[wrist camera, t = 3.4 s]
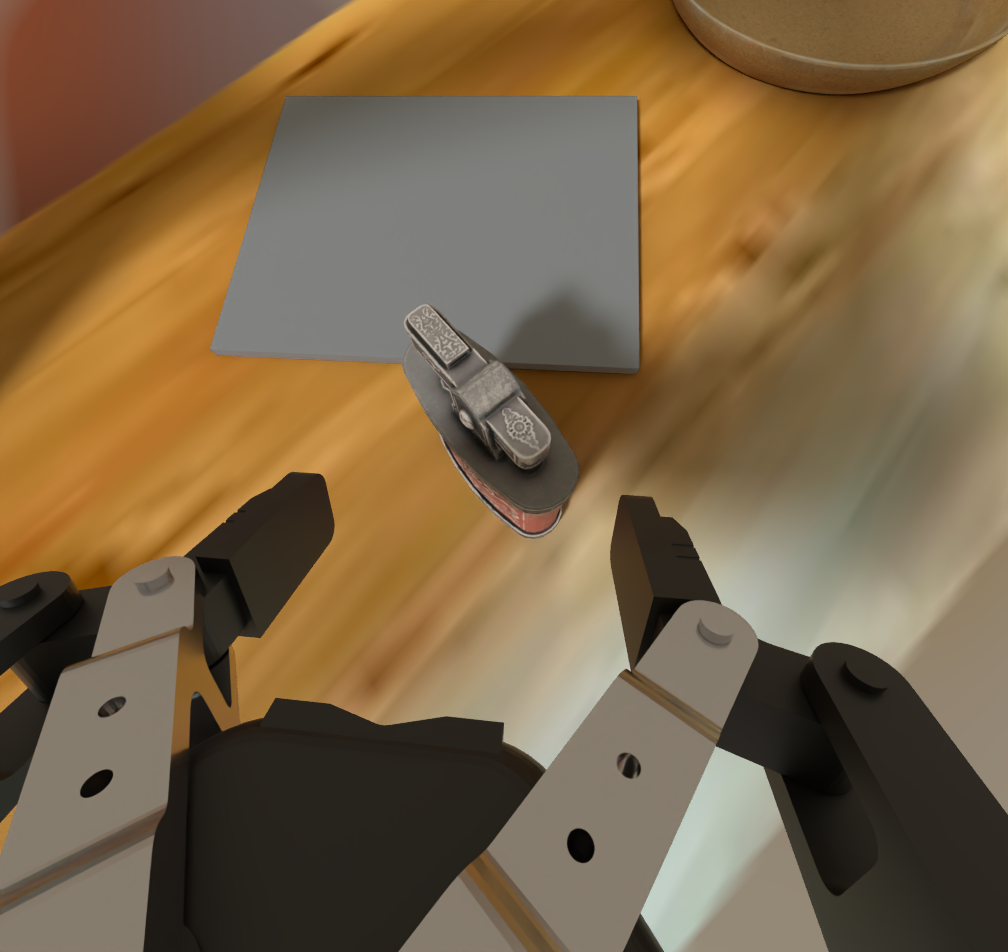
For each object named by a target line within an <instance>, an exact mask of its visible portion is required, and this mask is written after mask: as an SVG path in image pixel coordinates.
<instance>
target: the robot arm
mask: <svg viewBox="0 0 1008 952" xmlns="http://www.w3.org/2000/svg"><path fill="white" fill-rule="evenodd" d="M333 533H334V518H333V513H332V509H331V504H330V500H329V495H328V491H327V486H326V482H325V479H324V477H323V476H322V475H321V474H315V473H300V472H291V473H289V474H287V475H286V476H285V477H284V478H283V479H282V480H281V481H280V482H278V483H277V484H276V485H275V486H274V487H273V488H272V489H269V490H267V491H265V492H263V493H261V494H259V495H257V496H255V497H253V498H251V499H250V500H249V501H248V502H246V503H245V504H244V505H243V506H242V507H241V508H239V509H238V512H237V513H234V514H232V515H231V516H230V517H229V518H228V519H227V520H226V523H222V524H221V525H220V526H218V527H217V528H216V529H215V530H214V531H213V532H212V533H210V534H209V535H208V536H207V537H206V538H205V539H203V540H202V541H201V542H200V543H199V544H198V545H196V546H195V547H194V548H193V549H192V550H191V551H189V552H188V553H187V554H186V555H185V556H184V557H181V556H172V557H164V558H160V559H156V560H153V561H150V562H147V563H144V564H142V565H140V566H138V567H136V568H134V569H132V570H130V571H129V572H127V573H126V574H124V575H123V576H122V577H120V578H119V579H118V580H117V581H116V582H115V583H114V584H113V586H107V587H100V588H93V589H85V590H78V589H77V587H76V586H75V584H74V583H73V581H72V580H71V578H70V577H69V575H68V574H66V573H63V572H58V571H49V572H42V573H36V574H32V575H29V576H25V577H22V578H19V579H16V580H14V581H11V582H9V583H7V584H4V585H2V586H0V675H2V674H3V673H4V672H5V671H6V670H8V669H9V668H11V669H12V670H13V672H14V673H15V674H16V675H17V676H18V677H19V678H20V679H21V681H22V682H23V683H24V684H25V685H26V686H27V687H28V689H26V690H25V691H24V692H23V693H22V694H21V695H20V696H19V697H18V698H17V699H15V700H14V701H13V702H12V703H11V704H10V705H9V706H8V707H7V708H6V709H4V710H3V711H2V712H1V713H0V822H1V821H2V820H3V819H4V818H5V817H6V816H7V815H8V814H9V812H10V811H11V810H12V809H13V808H14V807H15V806H16V805H17V807H16V810H15V813H14V816H13V819H12V822H11V825H10V828H9V831H8V834H7V837H6V840H5V843H4V846H3V849H2V852H1V855H0V952H664V951H663V949H662V948H661V946H660V944H659V943H658V941H657V939H656V938H655V936H654V935H653V933H652V931H651V930H650V928H649V926H648V925H647V923H646V922H645V920H644V918H643V917H642V915H641V910H642V908H643V906H644V904H645V902H646V899H647V897H648V895H649V893H650V890H651V888H652V886H653V884H654V882H655V879H656V877H657V875H658V873H659V870H660V868H661V866H662V864H663V862H664V859H665V857H666V855H667V853H668V850H669V848H670V846H671V844H672V842H673V839H674V837H675V835H676V833H677V831H678V828H679V826H680V824H681V822H682V819H683V817H684V815H685V813H686V811H687V808H688V806H689V804H690V802H691V799H692V797H693V795H694V793H695V791H696V788H697V786H698V784H699V782H700V779H701V777H702V775H703V773H704V771H705V768H706V766H707V764H708V762H709V759H710V757H711V755H712V753H713V751H714V748H715V746H717V747H719V748H721V749H724V750H726V751H728V752H731V753H733V754H735V755H738V756H740V757H742V758H745V759H747V760H749V761H752V762H754V763H756V764H759V765H761V766H763V767H764V769H765V772H766V775H767V778H768V781H769V784H770V786H771V789H772V792H773V795H774V798H775V801H776V803H777V806H778V809H779V812H780V815H781V818H782V820H783V823H784V826H785V829H786V832H787V835H788V837H789V840H790V843H791V846H792V849H793V852H794V854H795V857H796V860H797V863H798V866H799V869H800V871H801V874H802V877H803V880H804V883H805V886H806V888H807V891H808V894H809V897H810V900H811V903H812V906H813V908H814V911H815V914H816V917H817V919H818V923H819V925H820V928H821V931H822V934H823V937H824V940H825V942H826V945H827V948H828V951H829V952H1008V815H1007V813H1006V812H1005V811H1004V809H1003V808H1002V807H1001V805H1000V804H999V803H998V801H997V800H996V799H995V797H994V796H993V795H992V793H991V792H990V791H989V789H988V788H987V787H986V785H985V784H984V783H983V781H982V780H981V779H980V777H979V776H978V775H977V773H976V772H975V771H974V769H973V768H972V767H971V765H970V764H969V763H968V761H967V760H966V759H965V757H964V756H963V755H962V753H961V752H960V751H959V749H958V748H957V746H956V745H955V744H954V742H953V741H952V740H951V739H950V737H949V736H948V735H947V733H946V732H945V731H944V729H943V728H942V727H941V725H940V724H939V722H938V721H937V720H936V718H935V717H934V716H933V714H932V713H931V712H930V711H929V709H928V708H927V707H926V705H925V704H924V703H923V701H922V700H921V698H920V697H919V696H918V695H917V693H916V692H915V690H914V689H913V688H912V686H911V685H910V684H909V683H908V682H907V681H906V679H905V678H904V677H903V676H902V675H901V674H900V673H899V672H898V671H897V670H895V669H894V668H893V667H892V666H890V665H889V664H888V663H886V662H885V661H883V660H882V659H880V658H878V657H877V656H875V655H873V654H871V653H869V652H867V651H865V650H863V649H860V648H858V647H855V646H852V645H848V644H844V643H836V642H830V643H824V644H821V645H819V646H818V647H817V648H816V649H815V650H814V651H813V653H812V655H811V657H808V656H805V655H802V654H799V653H796V652H793V651H790V650H787V649H784V648H781V647H778V646H775V645H772V644H769V643H766V642H764V641H762V640H760V639H758V638H757V636H756V634H755V632H754V630H753V629H752V627H751V626H750V625H749V623H748V622H747V621H746V620H745V619H744V618H742V617H741V616H740V615H739V614H737V613H736V612H734V611H733V610H731V609H729V608H727V607H725V606H723V605H722V604H721V602H720V600H719V597H718V595H717V593H716V591H715V589H714V587H713V585H712V583H711V581H710V579H709V576H708V574H707V572H706V570H705V568H704V566H703V564H702V562H701V561H699V555H698V553H697V551H696V549H695V548H694V547H693V546H694V545H693V543H692V541H691V539H690V537H689V534H688V532H687V530H685V529H684V528H683V527H682V526H681V525H680V524H679V523H678V522H677V521H676V520H674V519H673V518H671V517H660V515H659V512H658V510H657V507H656V505H655V502H654V500H653V498H652V497H646V496H631V495H622V496H621V497H620V500H619V504H618V510H617V515H616V520H615V526H614V531H613V536H612V542H611V551H610V560H611V569H612V574H613V579H614V584H615V590H616V595H617V600H618V605H619V611H620V616H621V621H622V626H623V632H624V637H625V642H626V647H627V653H628V658H629V663H630V668H631V672H630V671H629V670H628V669H625V670H623V671H622V672H621V673H620V674H619V675H618V676H617V678H616V679H615V680H614V681H613V683H612V684H611V685H610V687H609V688H608V689H607V691H606V692H605V693H604V695H603V696H602V697H601V699H600V700H599V701H598V703H597V704H596V705H595V707H594V708H593V709H592V711H591V712H590V713H589V715H588V716H587V717H586V719H585V720H584V721H583V723H582V724H581V725H580V727H579V728H578V729H577V730H576V732H575V733H574V734H573V736H572V737H571V738H570V740H569V741H568V742H567V744H566V745H565V746H564V748H563V749H562V750H561V752H560V753H559V754H558V756H557V757H556V758H555V760H554V761H553V762H552V764H551V765H550V766H549V768H548V769H547V770H546V769H545V768H544V767H543V766H542V765H541V764H540V763H538V762H537V761H536V760H535V759H533V758H532V757H531V756H529V755H528V754H526V753H525V752H523V751H521V750H519V749H518V748H516V747H514V746H512V745H509V744H507V743H505V742H503V734H504V723H502V722H492V721H483V720H474V719H465V718H456V717H439V718H433V719H426V720H420V721H413V722H407V723H400V724H394V725H385V726H384V725H378V724H376V723H373V722H371V721H369V720H366V719H364V718H362V717H359V716H357V715H355V714H352V713H350V712H348V711H345V710H343V709H341V708H338V707H336V706H334V705H332V704H327V703H317V702H308V701H299V700H290V699H281V698H275V700H274V702H273V703H272V705H271V707H270V708H269V710H268V712H267V713H266V715H265V717H264V718H260V719H256V720H252V721H249V722H245V723H242V724H240V718H239V706H238V691H237V676H236V661H235V652H234V649H233V647H232V645H231V644H232V643H233V642H234V640H235V639H236V638H237V637H238V636H246V637H256V638H261V637H262V635H263V634H264V632H265V631H266V630H267V628H268V627H269V626H270V624H271V623H272V621H273V620H274V619H275V617H276V616H277V615H278V613H279V612H280V611H281V609H282V608H283V606H284V605H285V604H286V602H287V601H288V600H289V598H290V597H291V595H292V594H293V593H294V591H295V590H296V589H297V587H298V586H299V584H300V583H301V582H302V580H303V579H304V578H305V576H306V575H307V573H308V572H309V571H310V569H311V568H312V567H313V565H314V564H315V563H316V561H317V560H318V558H319V557H320V556H321V554H322V553H323V552H324V550H325V549H326V547H327V546H328V545H329V543H330V542H331V540H332V537H333Z"/></svg>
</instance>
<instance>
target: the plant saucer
mask: <svg viewBox="0 0 1008 952" xmlns="http://www.w3.org/2000/svg"><path fill="white" fill-rule="evenodd" d="M672 1H673V3H674V5H675V7H676V9H677V11H678V13H679V15H680V16H681V18H682V19H683V21H684V22H685V24H686V25H687V27H688V28H689V30H690V31H691V32H692V33H693V34H694V35H695V37H696V38H697V39H698V40H699V41H700V42H701V43H702V44H703V45H704V46H705V47H706V48H707V49H708V50H709V51H710V52H711V53H713V54H714V55H715V56H717V57H718V58H719V59H721V60H722V61H723V62H725V63H726V64H728V65H730V66H731V67H733V68H735V69H737V70H738V71H740V72H742V73H744V74H746V75H748V76H751V77H753V78H756V79H758V80H761V81H764V82H766V83H769V84H773V85H776V86H780V87H784V88H788V89H793V90H798V91H804V92H811V93H821V94H858V93H866V92H874V91H881V90H886V89H891V88H895V87H899V86H903V85H907V84H910V83H914V82H917V81H920V80H923V79H926V78H929V77H931V76H934V75H936V74H939V73H941V72H944V71H946V70H948V69H950V68H952V67H955V66H957V65H959V64H961V63H963V62H965V61H966V60H968V59H970V58H972V57H974V56H975V55H977V54H979V53H981V52H982V51H984V50H985V49H987V48H989V47H990V46H992V45H993V44H995V43H996V42H997V41H999V40H1000V39H1002V38H1003V37H1004V36H1005V35H1007V34H1008V0H672Z"/></svg>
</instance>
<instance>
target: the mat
mask: <svg viewBox="0 0 1008 952" xmlns="http://www.w3.org/2000/svg"><path fill="white" fill-rule="evenodd" d="M425 304H429V305H432V306H434V307H435V308H437V309H438V310H439V311H440V312H441V313H442V314H443V315H444V317H445V318H446V319H447V320H448V321H449V322H450V323H451V324H452V325H453V326H454V327H455V328H456V329H457V330H459V331H461V332H462V333H464V334H465V335H467V336H468V337H469V338H471V339H472V340H474V341H475V342H476V343H478V344H479V345H480V346H482V347H483V348H485V349H486V350H487V351H489V352H490V353H492V354H493V355H494V356H495V357H496V358H497V359H498V360H499V361H501V362H502V363H503V364H504V365H505V366H506V367H507V368H512V369H534V370H557V371H579V372H602V373H624V374H637V372H638V370H639V260H638V142H637V96H286V99H285V102H284V105H283V109H282V112H281V115H280V119H279V122H278V125H277V129H276V132H275V135H274V138H273V142H272V145H271V148H270V152H269V155H268V158H267V162H266V165H265V168H264V172H263V175H262V178H261V182H260V185H259V188H258V192H257V195H256V198H255V202H254V205H253V208H252V212H251V215H250V218H249V221H248V225H247V228H246V231H245V235H244V238H243V241H242V245H241V248H240V251H239V255H238V258H237V261H236V265H235V268H234V271H233V275H232V278H231V281H230V285H229V288H228V291H227V295H226V298H225V301H224V305H223V308H222V311H221V314H220V318H219V321H218V324H217V328H216V331H215V334H214V338H213V341H212V344H211V348H210V350H211V351H213V352H214V353H215V354H216V355H222V356H244V357H266V358H289V359H311V360H333V361H356V362H378V363H400V364H402V360H403V354H404V352H405V350H406V348H407V347H408V345H409V343H410V342H411V340H410V338H409V335H408V333H407V331H406V329H405V327H404V320H405V318H406V316H407V315H408V314H409V313H411V312H412V311H413V310H415V309H416V308H418V307H419V306H421V305H425Z"/></svg>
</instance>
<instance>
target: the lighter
mask: <svg viewBox="0 0 1008 952" xmlns="http://www.w3.org/2000/svg"><path fill="white" fill-rule="evenodd" d="M404 327H405V329H406V331H407V333H408V335H409V338H410V340H411V342H410V343H409V345H408V347H407V348H406V350H405V352H404V354H403V360H402V366H403V370H404V373H405V375H406V377H407V379H408V381H409V383H410V385H411V387H412V389H413V390H414V392H415V394H416V396H417V398H418V400H419V402H420V404H421V406H422V407H423V409H424V411H425V413H426V415H427V416H428V418H429V419H430V421H431V422H432V423H433V425H434V426H435V428H436V429H437V430H438V432H439V435H440V438H441V440H442V442H443V444H444V446H445V448H446V450H447V452H448V454H449V455H450V457H451V459H452V461H453V463H454V465H455V467H456V468H457V470H458V471H459V473H460V474H461V475H462V477H463V478H464V480H465V481H466V483H467V484H468V485H469V487H470V488H471V490H472V491H473V492H474V494H475V495H476V496H477V497H478V498H479V499H480V500H481V501H482V502H483V503H484V504H485V505H486V506H487V507H488V508H489V509H490V510H491V511H492V512H493V514H494V515H495V516H497V517H498V518H499V519H500V520H502V521H503V522H504V523H505V524H506V525H508V526H509V527H510V528H511V529H512V530H514V531H515V532H516V533H517V534H519V535H521V536H522V537H524V538H529V539H536V538H540V537H543V536H545V535H547V534H548V533H550V532H551V531H552V530H553V529H554V528H555V527H556V525H557V523H558V521H559V519H560V516H561V512H562V505H563V504H564V502H565V501H566V500H567V499H568V498H569V497H570V496H571V494H572V492H573V490H574V487H575V485H576V483H577V480H578V478H579V464H578V461H577V458H576V456H575V454H574V452H573V451H572V449H571V447H570V446H569V444H568V443H567V441H566V439H565V438H564V436H563V435H562V433H561V431H560V430H559V428H558V427H557V425H556V423H555V422H554V420H553V419H552V417H551V416H550V415H549V413H548V412H547V411H546V410H545V408H544V407H543V406H542V405H541V403H540V402H539V401H538V400H537V399H536V397H535V396H534V395H533V394H532V392H531V391H530V390H529V389H528V387H527V386H526V385H525V384H524V383H523V382H522V381H521V380H520V379H519V378H518V377H517V376H516V375H515V374H514V373H512V372H511V371H510V370H509V369H508V368H507V367H506V366H505V365H504V364H503V363H502V362H501V361H499V360H498V359H497V358H496V357H495V356H494V355H493V354H492V353H490V352H489V351H487V350H486V349H485V348H483V347H482V346H480V345H479V344H478V343H476V342H475V341H474V340H472V339H471V338H469V337H468V336H467V335H465V334H464V333H462V332H461V331H459V330H457V329H456V328H455V327H454V326H453V325H452V324H451V323H450V322H449V321H448V320H447V319H446V318H445V317H444V315H443V314H442V313H441V312H440V311H439V310H438V309H437V308H435V307H434V306H432V305H429V304H425V305H421V306H419V307H418V308H416V309H415V310H413V311H412V312H411V313H409V314H408V315H407V316H406V318H405V320H404Z"/></svg>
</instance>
